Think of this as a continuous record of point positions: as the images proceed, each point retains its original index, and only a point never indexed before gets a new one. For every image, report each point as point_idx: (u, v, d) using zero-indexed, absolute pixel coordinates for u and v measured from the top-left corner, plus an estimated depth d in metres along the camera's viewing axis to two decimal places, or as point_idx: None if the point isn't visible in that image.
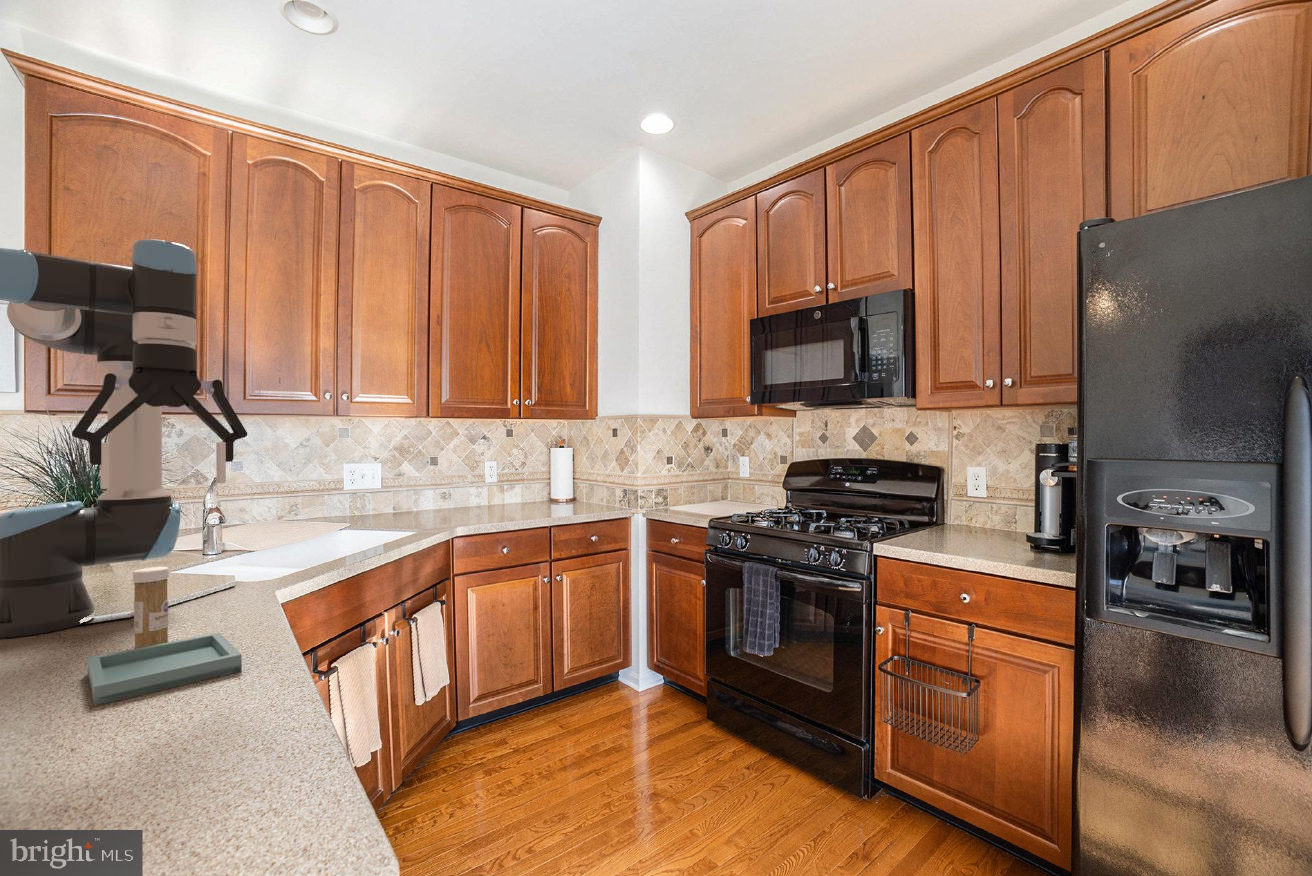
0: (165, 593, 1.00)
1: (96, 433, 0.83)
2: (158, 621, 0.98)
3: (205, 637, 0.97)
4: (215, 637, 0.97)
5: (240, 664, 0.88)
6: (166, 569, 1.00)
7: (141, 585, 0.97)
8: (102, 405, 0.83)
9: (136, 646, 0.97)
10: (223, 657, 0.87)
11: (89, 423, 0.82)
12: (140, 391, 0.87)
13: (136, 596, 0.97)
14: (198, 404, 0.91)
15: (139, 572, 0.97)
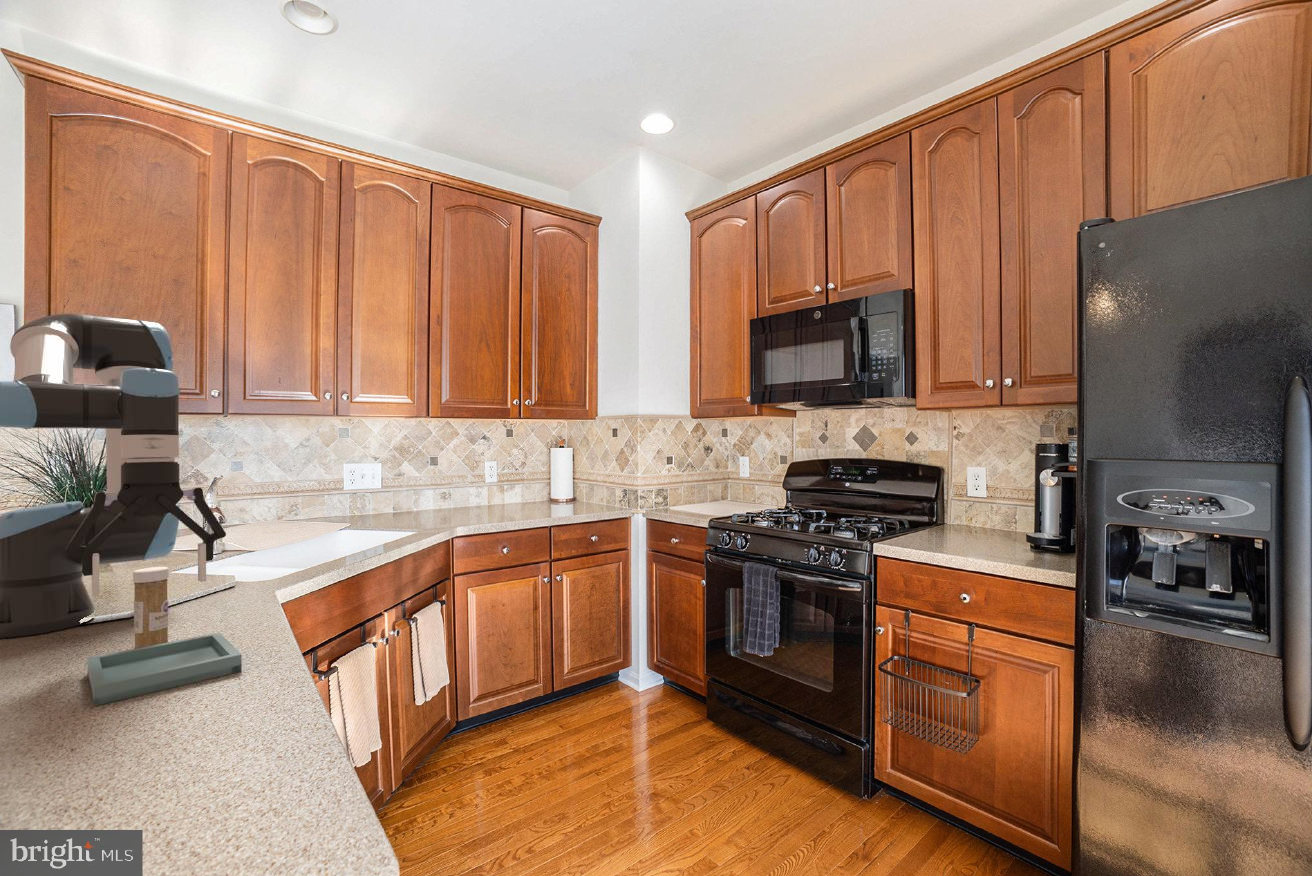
0: (165, 593, 1.00)
1: (88, 547, 0.93)
2: (158, 621, 0.98)
3: (205, 637, 0.97)
4: (215, 637, 0.97)
5: (240, 664, 0.88)
6: (166, 569, 1.00)
7: (141, 585, 0.97)
8: (93, 522, 0.93)
9: (136, 646, 0.97)
10: (223, 657, 0.87)
11: (81, 539, 0.92)
12: (127, 505, 0.96)
13: (136, 596, 0.97)
14: (180, 512, 1.01)
15: (139, 572, 0.97)
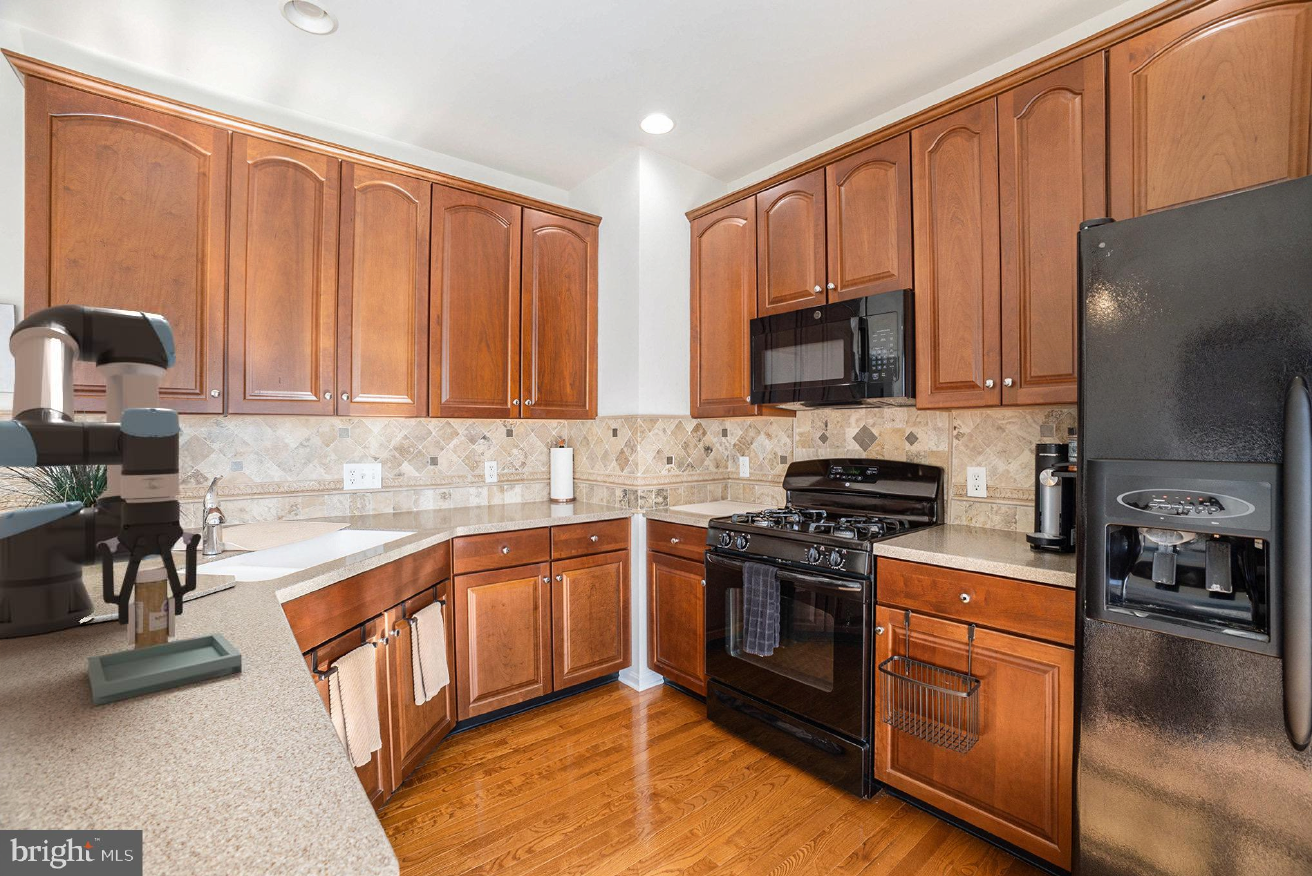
0: (165, 593, 1.00)
1: (122, 598, 0.96)
2: (158, 621, 0.98)
3: (205, 637, 0.97)
4: (215, 637, 0.97)
5: (240, 664, 0.88)
6: (166, 569, 1.00)
7: (141, 585, 0.97)
8: (112, 570, 0.95)
9: (136, 646, 0.97)
10: (223, 657, 0.87)
11: (112, 588, 0.95)
12: (132, 549, 0.97)
13: (136, 596, 0.97)
14: (170, 557, 1.00)
15: (139, 572, 0.97)
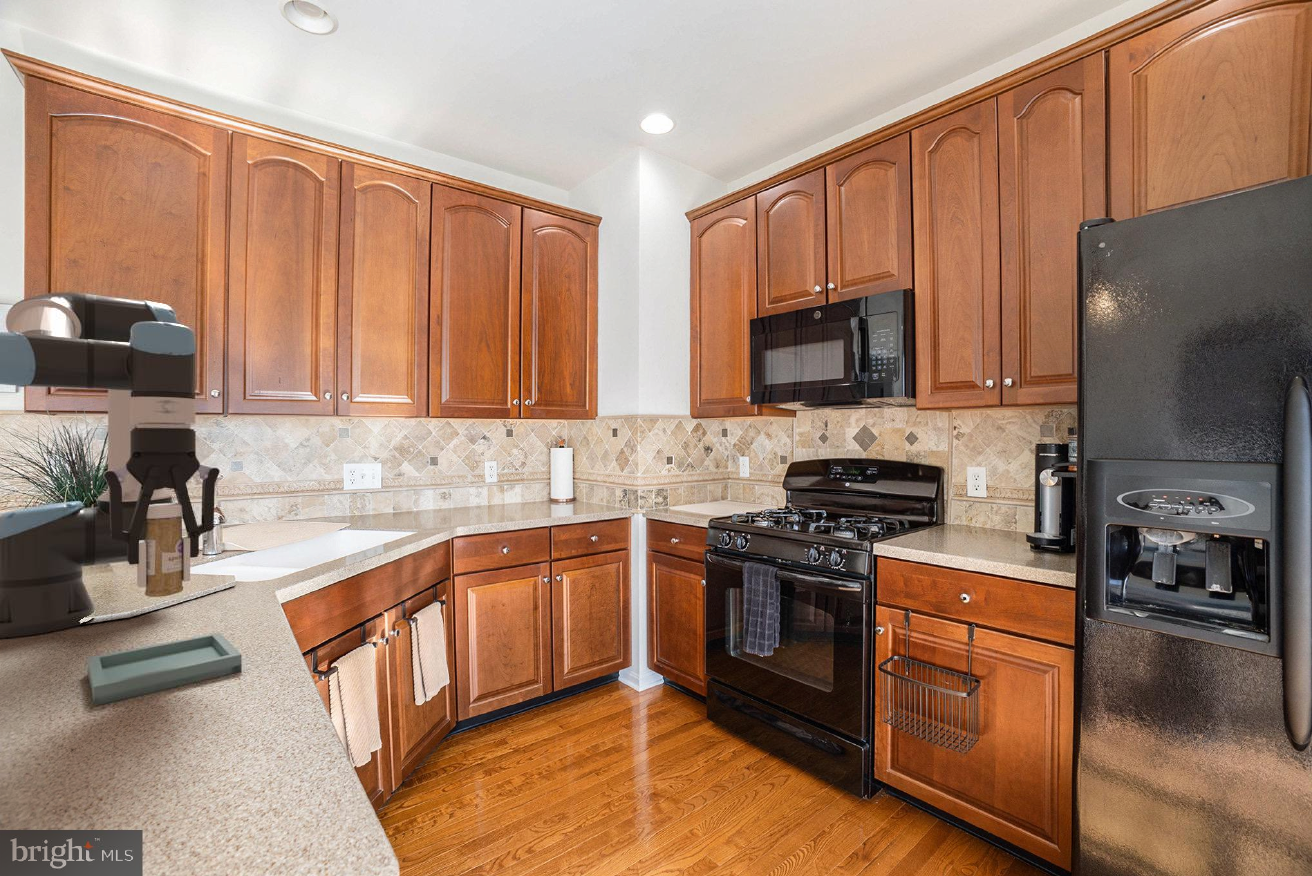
0: (179, 532, 0.89)
1: (131, 534, 0.85)
2: (172, 562, 0.88)
3: (205, 637, 0.97)
4: (215, 637, 0.97)
5: (240, 664, 0.88)
6: None
7: (153, 521, 0.86)
8: (120, 502, 0.84)
9: (147, 589, 0.86)
10: (223, 657, 0.87)
11: (120, 523, 0.84)
12: (143, 481, 0.86)
13: (147, 533, 0.86)
14: (185, 491, 0.89)
15: (151, 507, 0.86)
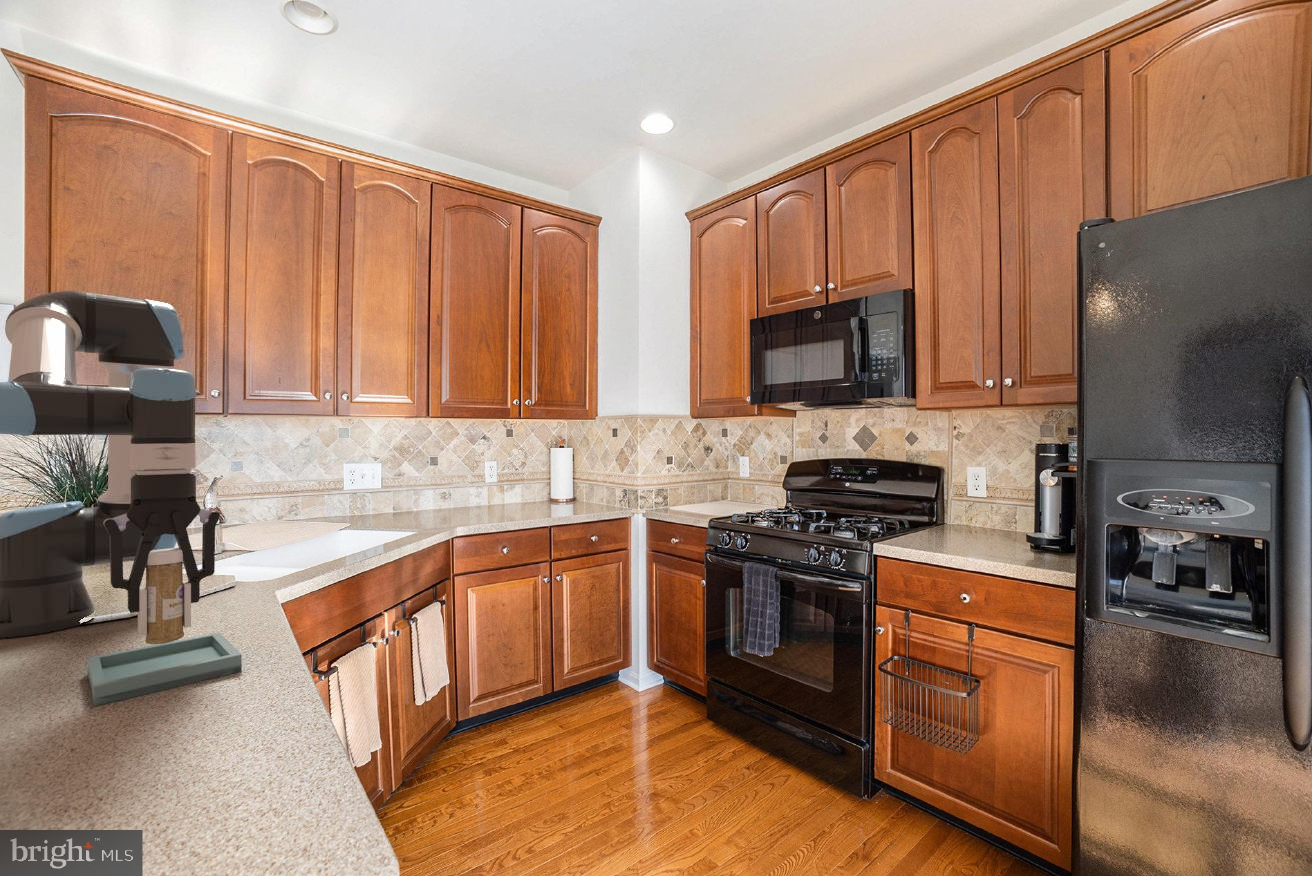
0: (180, 577, 0.88)
1: (132, 582, 0.85)
2: (173, 609, 0.87)
3: (205, 637, 0.97)
4: (215, 637, 0.97)
5: (240, 664, 0.88)
6: (181, 550, 0.89)
7: (153, 567, 0.86)
8: (120, 550, 0.84)
9: (148, 637, 0.86)
10: (223, 657, 0.87)
11: (121, 571, 0.84)
12: (143, 528, 0.86)
13: (148, 580, 0.86)
14: (185, 537, 0.89)
15: (151, 553, 0.86)
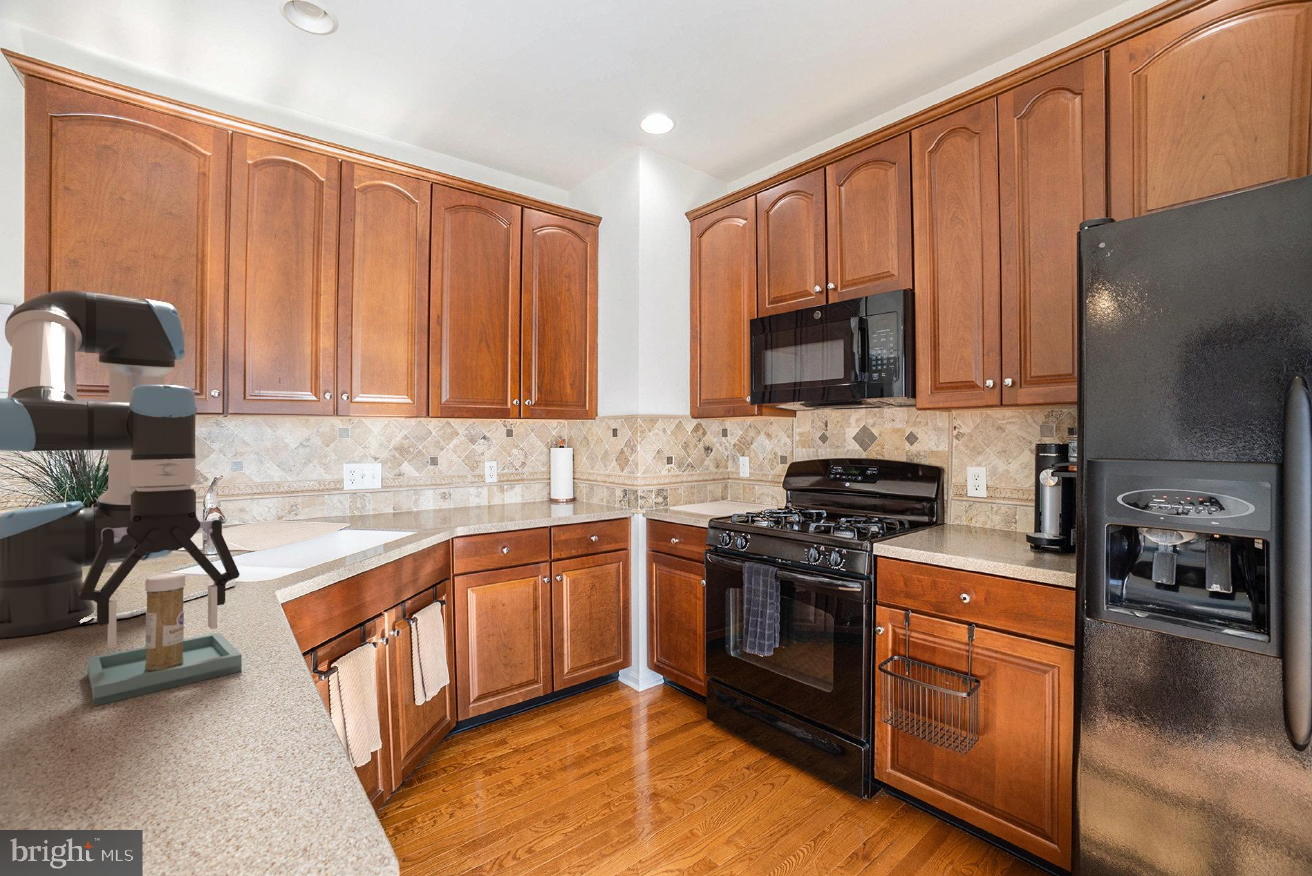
0: (181, 603, 0.89)
1: (103, 593, 0.82)
2: (173, 635, 0.87)
3: (205, 637, 0.97)
4: (215, 637, 0.97)
5: (240, 664, 0.88)
6: (182, 576, 0.89)
7: (155, 594, 0.86)
8: (104, 562, 0.83)
9: (147, 663, 0.86)
10: (223, 657, 0.87)
11: (95, 583, 0.82)
12: (139, 541, 0.85)
13: (149, 607, 0.86)
14: (194, 548, 0.89)
15: (153, 580, 0.86)
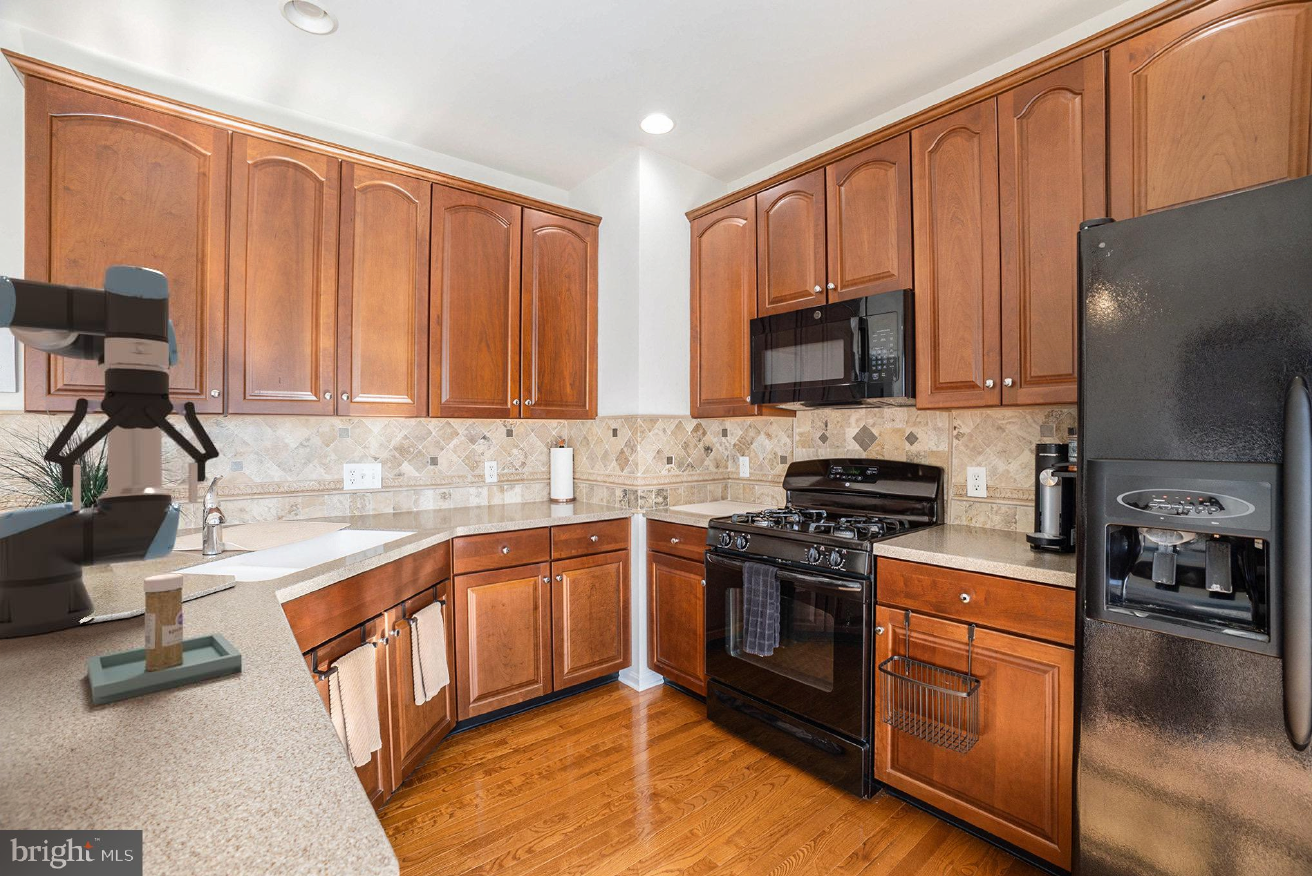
0: (180, 603, 0.88)
1: (68, 457, 0.85)
2: (172, 635, 0.87)
3: (205, 637, 0.97)
4: (215, 637, 0.97)
5: (240, 664, 0.88)
6: (181, 576, 0.89)
7: (153, 594, 0.86)
8: (74, 429, 0.86)
9: (147, 664, 0.86)
10: (223, 657, 0.87)
11: (61, 447, 0.85)
12: (112, 415, 0.89)
13: (147, 607, 0.86)
14: (170, 426, 0.93)
15: (151, 580, 0.86)
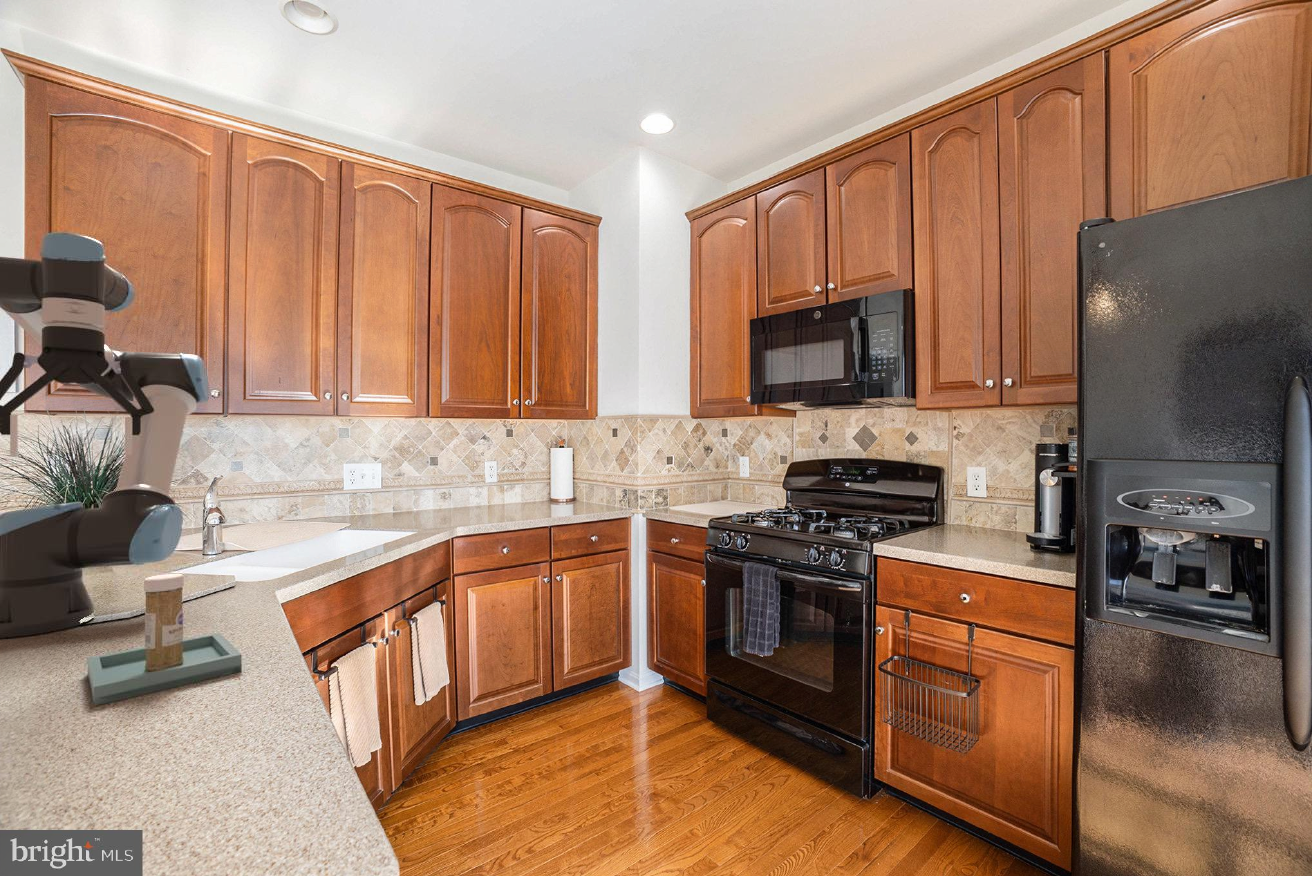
0: (180, 603, 0.89)
1: (5, 406, 0.92)
2: (173, 635, 0.87)
3: (205, 637, 0.97)
4: (215, 637, 0.97)
5: (240, 664, 0.88)
6: (181, 576, 0.89)
7: (153, 594, 0.86)
8: (11, 381, 0.93)
9: (147, 663, 0.86)
10: (223, 657, 0.87)
11: None
12: (48, 369, 0.96)
13: (147, 607, 0.86)
14: (105, 382, 1.00)
15: (151, 580, 0.86)
